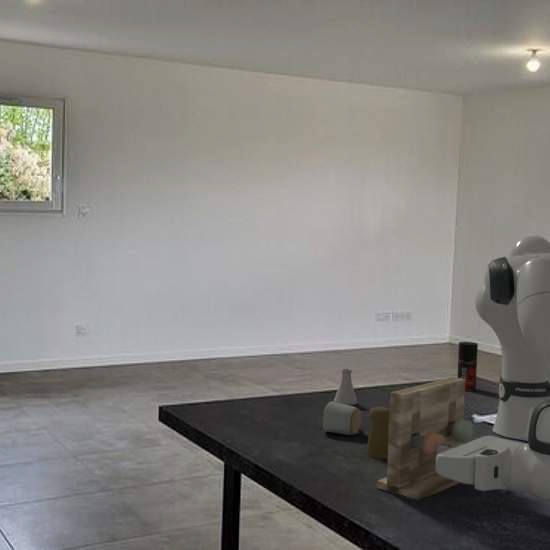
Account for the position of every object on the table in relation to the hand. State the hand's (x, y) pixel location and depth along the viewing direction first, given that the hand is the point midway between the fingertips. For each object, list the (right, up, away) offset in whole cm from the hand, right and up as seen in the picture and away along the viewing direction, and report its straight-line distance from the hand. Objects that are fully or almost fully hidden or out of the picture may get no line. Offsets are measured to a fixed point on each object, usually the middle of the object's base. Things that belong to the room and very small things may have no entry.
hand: (440, 447), depth 157 cm
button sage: (+6, -1, +14) cm, 15 cm away
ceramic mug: (-15, -6, +47) cm, 49 cm away
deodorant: (+30, -3, +103) cm, 107 cm away
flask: (-12, -4, +78) cm, 79 cm away
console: (0, -9, +10) cm, 13 cm away
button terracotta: (-3, -2, +3) cm, 4 cm away
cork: (-8, -8, +28) cm, 30 cm away
